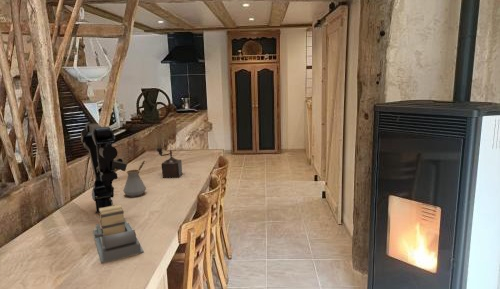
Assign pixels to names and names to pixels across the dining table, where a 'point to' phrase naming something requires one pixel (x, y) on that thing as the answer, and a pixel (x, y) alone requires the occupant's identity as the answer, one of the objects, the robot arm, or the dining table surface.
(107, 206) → the robot arm
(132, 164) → the dining table surface
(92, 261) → the dining table surface
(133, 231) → the bay
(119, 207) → the crate
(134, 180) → the coffee pot
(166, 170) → the manual coffee grinder
